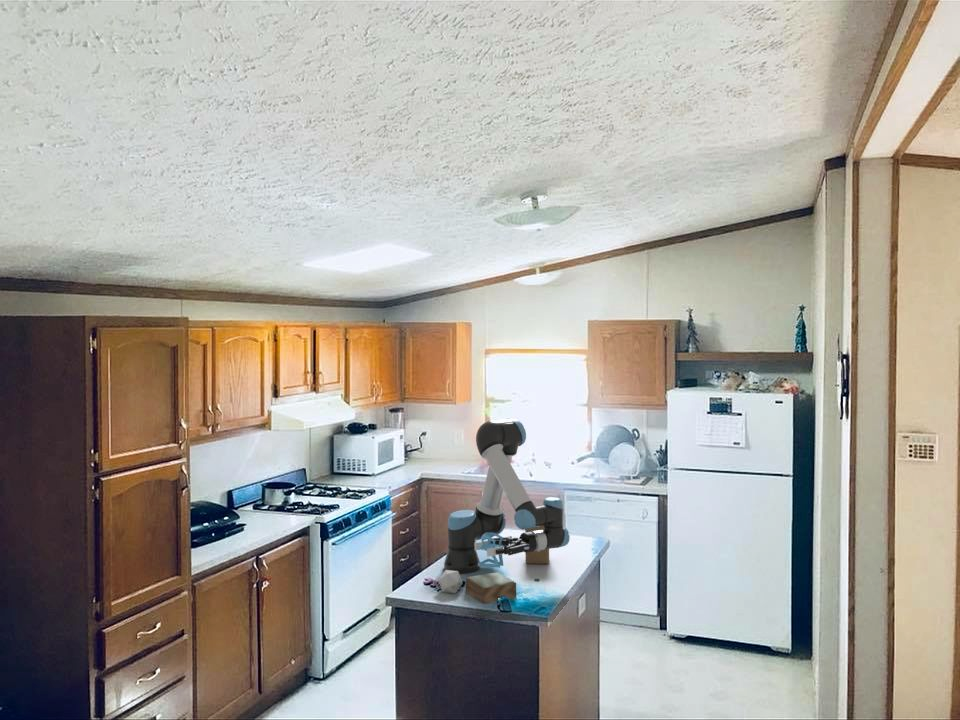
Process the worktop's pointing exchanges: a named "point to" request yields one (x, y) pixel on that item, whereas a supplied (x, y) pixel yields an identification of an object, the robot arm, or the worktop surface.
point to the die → (450, 581)
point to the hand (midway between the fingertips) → (481, 549)
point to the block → (537, 556)
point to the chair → (489, 545)
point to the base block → (490, 587)
